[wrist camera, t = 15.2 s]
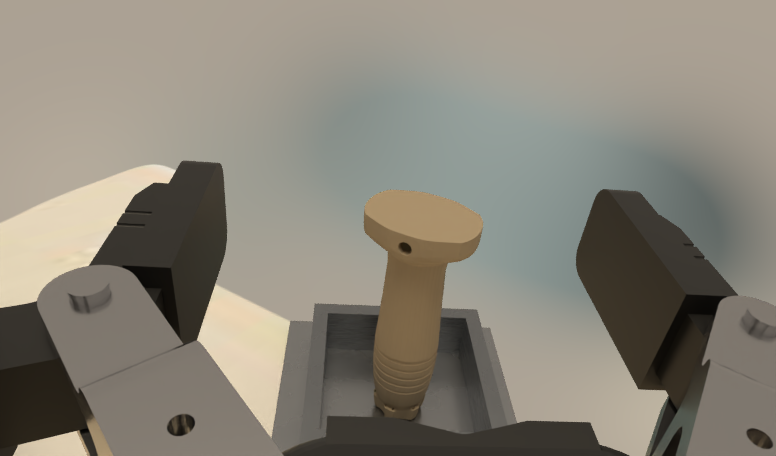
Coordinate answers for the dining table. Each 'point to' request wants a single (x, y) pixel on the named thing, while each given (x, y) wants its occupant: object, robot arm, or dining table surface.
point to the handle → (413, 288)
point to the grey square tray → (356, 381)
